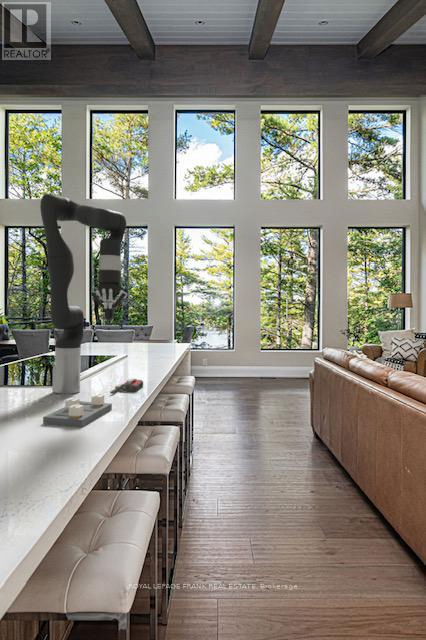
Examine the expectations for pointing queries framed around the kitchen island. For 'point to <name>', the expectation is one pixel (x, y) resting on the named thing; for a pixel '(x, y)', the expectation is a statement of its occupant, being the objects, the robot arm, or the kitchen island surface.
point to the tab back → (97, 399)
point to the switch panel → (77, 421)
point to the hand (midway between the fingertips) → (109, 319)
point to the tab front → (76, 410)
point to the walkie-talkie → (129, 386)
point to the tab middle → (71, 402)
